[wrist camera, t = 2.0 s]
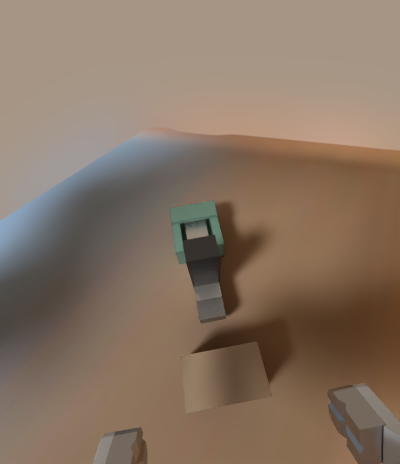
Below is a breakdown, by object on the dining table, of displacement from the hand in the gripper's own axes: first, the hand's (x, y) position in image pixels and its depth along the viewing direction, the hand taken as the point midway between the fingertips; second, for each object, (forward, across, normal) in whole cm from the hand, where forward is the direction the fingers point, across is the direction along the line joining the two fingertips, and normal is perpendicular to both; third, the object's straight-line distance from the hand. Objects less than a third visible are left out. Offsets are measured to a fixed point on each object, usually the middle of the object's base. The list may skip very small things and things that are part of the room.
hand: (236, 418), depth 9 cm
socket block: (+11, 0, +9) cm, 14 cm away
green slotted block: (+23, 0, -2) cm, 23 cm away
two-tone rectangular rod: (+19, 0, 0) cm, 19 cm away
